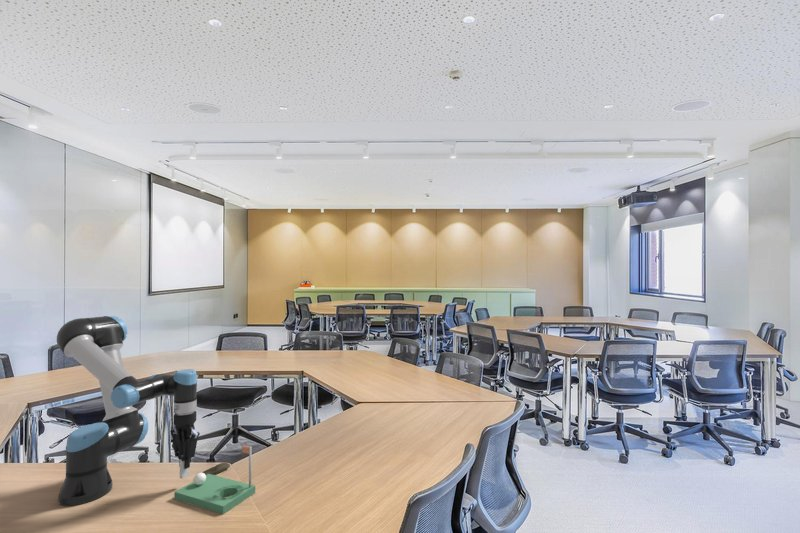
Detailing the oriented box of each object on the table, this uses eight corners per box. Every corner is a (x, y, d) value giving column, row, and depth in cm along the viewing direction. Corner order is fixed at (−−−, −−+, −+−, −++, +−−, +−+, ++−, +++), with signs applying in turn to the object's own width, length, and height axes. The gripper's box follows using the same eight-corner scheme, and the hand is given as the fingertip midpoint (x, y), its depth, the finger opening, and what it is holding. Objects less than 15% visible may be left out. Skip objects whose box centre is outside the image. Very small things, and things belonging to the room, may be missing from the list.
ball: (191, 486, 139) (191, 474, 139) (200, 480, 142) (201, 469, 143) (199, 488, 137) (199, 476, 137) (208, 482, 141) (208, 471, 141)
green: (174, 499, 135) (175, 451, 136) (208, 480, 148) (209, 436, 148) (223, 514, 125) (223, 462, 126) (255, 492, 138) (255, 446, 139)
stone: (225, 465, 160) (225, 460, 160) (232, 468, 157) (232, 463, 157) (193, 479, 149) (193, 473, 149) (200, 483, 146) (200, 477, 147)
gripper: (163, 413, 143) (162, 478, 142) (188, 417, 138) (187, 484, 137) (182, 407, 150) (181, 469, 149) (206, 411, 145) (205, 475, 144)
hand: (184, 476), depth 143 cm, fingers closed
